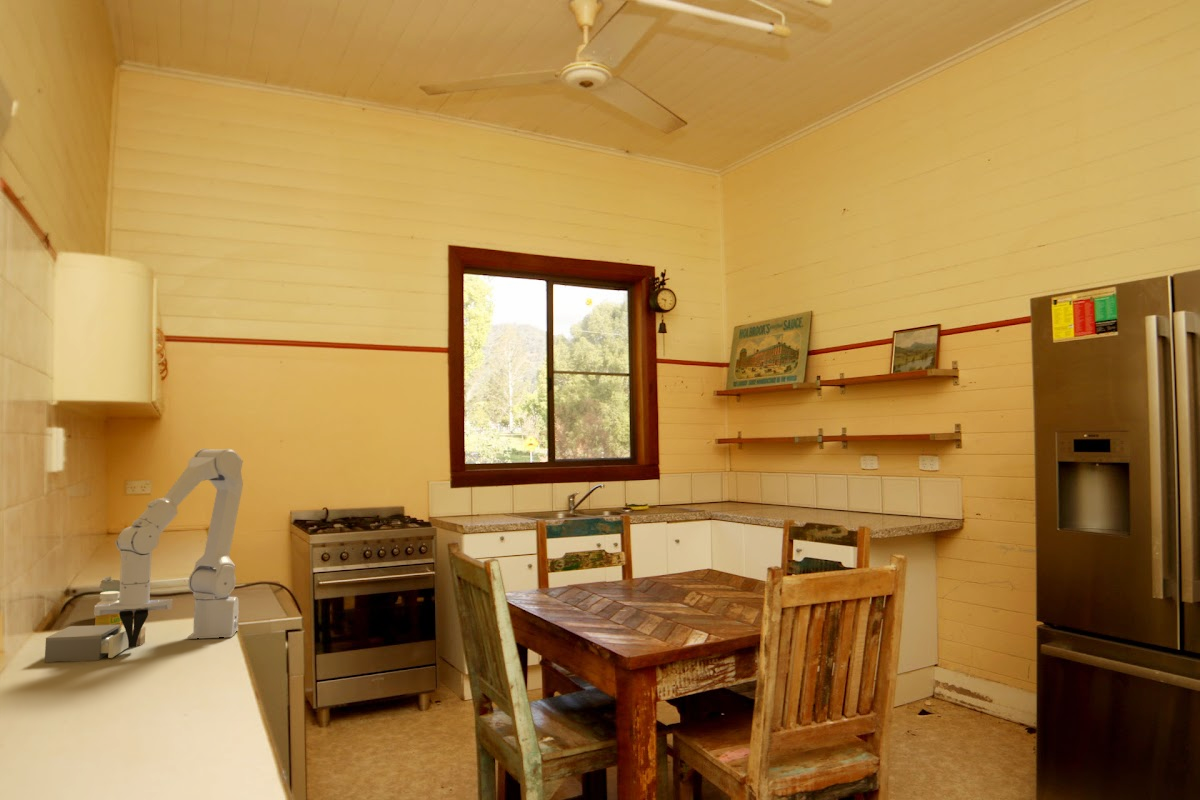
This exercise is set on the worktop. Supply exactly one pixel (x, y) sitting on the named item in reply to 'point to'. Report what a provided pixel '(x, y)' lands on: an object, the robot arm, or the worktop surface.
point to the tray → (115, 644)
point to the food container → (111, 586)
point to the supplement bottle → (108, 618)
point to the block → (140, 636)
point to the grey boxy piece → (78, 643)
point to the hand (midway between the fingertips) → (132, 646)
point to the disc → (106, 639)
